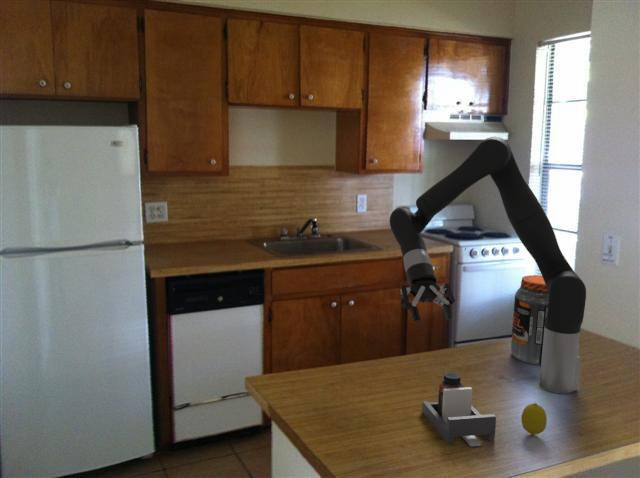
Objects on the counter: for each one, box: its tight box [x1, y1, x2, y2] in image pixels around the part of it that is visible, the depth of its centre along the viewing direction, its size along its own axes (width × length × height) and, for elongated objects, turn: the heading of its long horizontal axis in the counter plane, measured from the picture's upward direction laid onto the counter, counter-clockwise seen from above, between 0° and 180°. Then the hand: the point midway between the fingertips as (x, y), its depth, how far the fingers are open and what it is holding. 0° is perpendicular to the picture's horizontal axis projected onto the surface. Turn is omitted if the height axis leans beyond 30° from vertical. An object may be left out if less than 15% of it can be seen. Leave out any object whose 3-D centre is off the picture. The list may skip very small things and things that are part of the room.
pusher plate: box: [442, 386, 482, 447], centre depth 134 cm, size 7×11×9 cm, turn 11°
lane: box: [421, 400, 497, 446], centre depth 139 cm, size 11×16×6 cm
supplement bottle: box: [437, 371, 465, 418], centre depth 142 cm, size 6×6×11 cm
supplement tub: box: [510, 274, 549, 366], centre depth 184 cm, size 16×16×26 cm
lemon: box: [521, 402, 547, 437], centre depth 135 cm, size 6×6×8 cm
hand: (433, 320), depth 153 cm, fingers open, 8 cm apart
